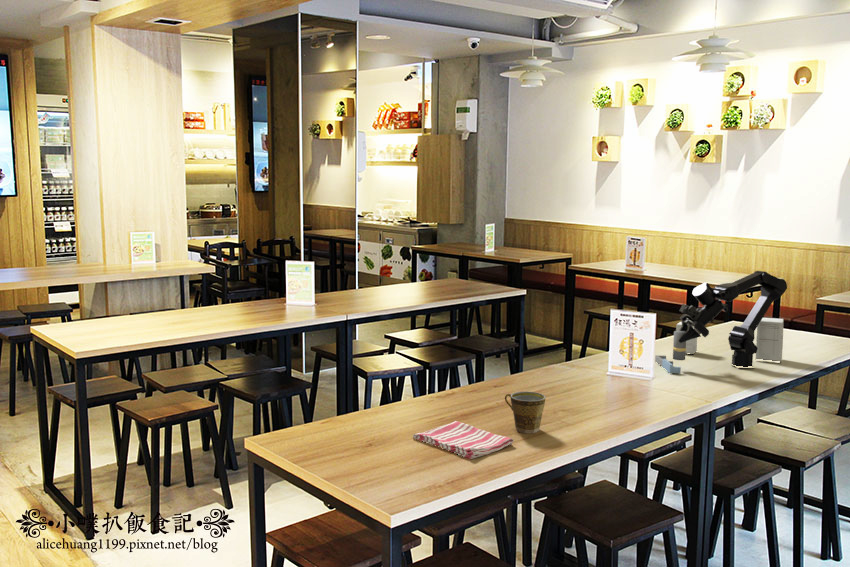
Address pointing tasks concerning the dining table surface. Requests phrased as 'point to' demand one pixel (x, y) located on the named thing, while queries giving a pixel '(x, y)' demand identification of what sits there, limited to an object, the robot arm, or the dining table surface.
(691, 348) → the supplement box
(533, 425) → the ceramic cup
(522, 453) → the dining table surface
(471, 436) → the dish towel
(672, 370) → the duct rail
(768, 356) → the supplement box
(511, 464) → the dining table surface
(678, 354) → the gray banded cylinder
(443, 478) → the dining table surface
